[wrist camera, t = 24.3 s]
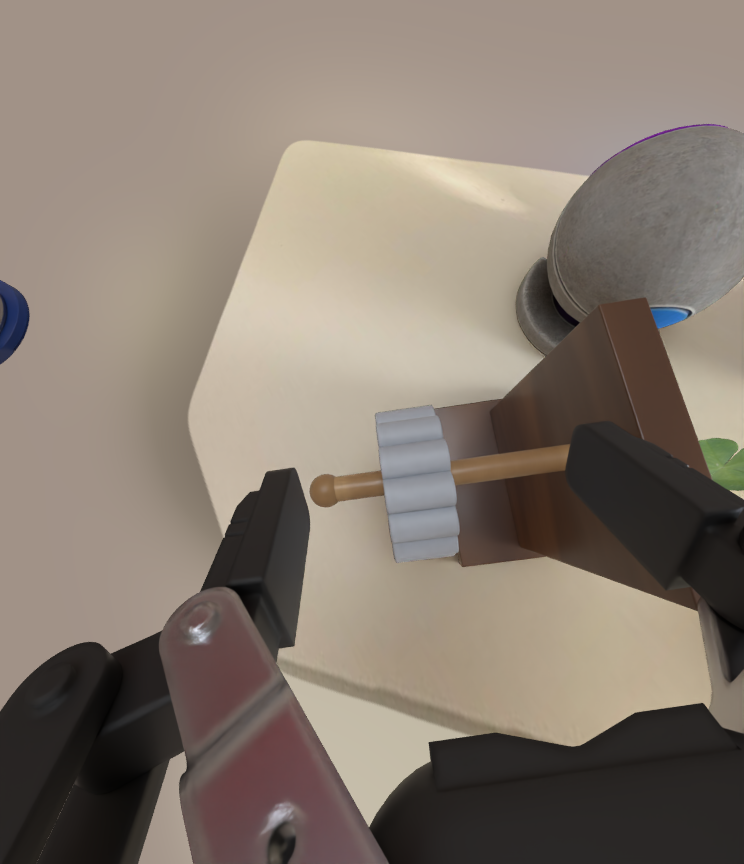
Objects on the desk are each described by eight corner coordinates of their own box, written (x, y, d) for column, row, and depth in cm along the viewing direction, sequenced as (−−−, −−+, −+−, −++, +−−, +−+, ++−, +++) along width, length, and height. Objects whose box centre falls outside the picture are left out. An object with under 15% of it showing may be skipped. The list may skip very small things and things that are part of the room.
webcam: (644, 255, 34) (836, 65, 19) (656, 371, 31) (890, 254, 16) (515, 254, 35) (601, 73, 20) (516, 365, 32) (616, 251, 17)
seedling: (661, 492, 33) (644, 443, 31) (780, 480, 28) (770, 420, 26) (681, 551, 28) (663, 496, 26) (831, 548, 23) (824, 481, 21)
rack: (534, 397, 31) (712, 263, 14) (573, 549, 28) (866, 627, 11) (343, 426, 32) (278, 333, 15) (360, 576, 29) (305, 690, 11)
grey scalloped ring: (396, 552, 20) (395, 579, 13) (379, 430, 22) (370, 391, 15) (443, 546, 20) (471, 570, 13) (422, 425, 22) (436, 381, 15)
